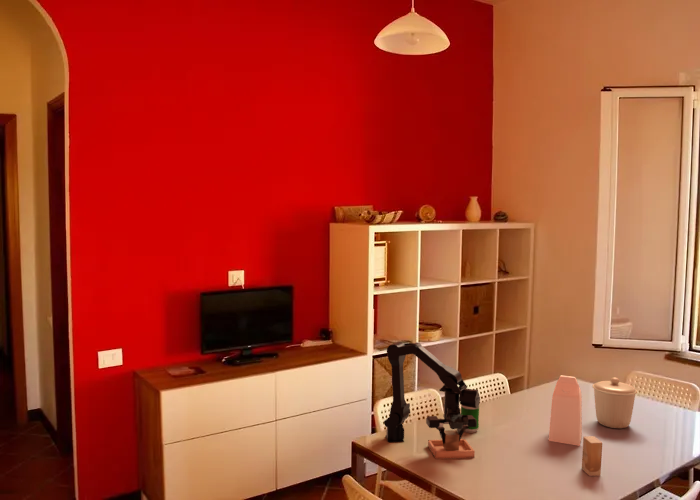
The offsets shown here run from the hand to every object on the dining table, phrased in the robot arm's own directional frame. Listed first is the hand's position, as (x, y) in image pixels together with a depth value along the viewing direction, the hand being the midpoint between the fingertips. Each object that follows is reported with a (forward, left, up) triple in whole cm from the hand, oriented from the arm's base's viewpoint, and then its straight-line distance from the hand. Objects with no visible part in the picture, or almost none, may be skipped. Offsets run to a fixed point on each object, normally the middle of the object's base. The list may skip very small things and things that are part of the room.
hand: (450, 443), depth 230 cm
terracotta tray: (0, 0, -3) cm, 3 cm away
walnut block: (0, 0, -2) cm, 2 cm away
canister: (+81, +24, -4) cm, 84 cm away
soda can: (+15, +22, -4) cm, 27 cm away
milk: (+52, +10, -4) cm, 53 cm away
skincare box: (+46, -22, -4) cm, 51 cm away
